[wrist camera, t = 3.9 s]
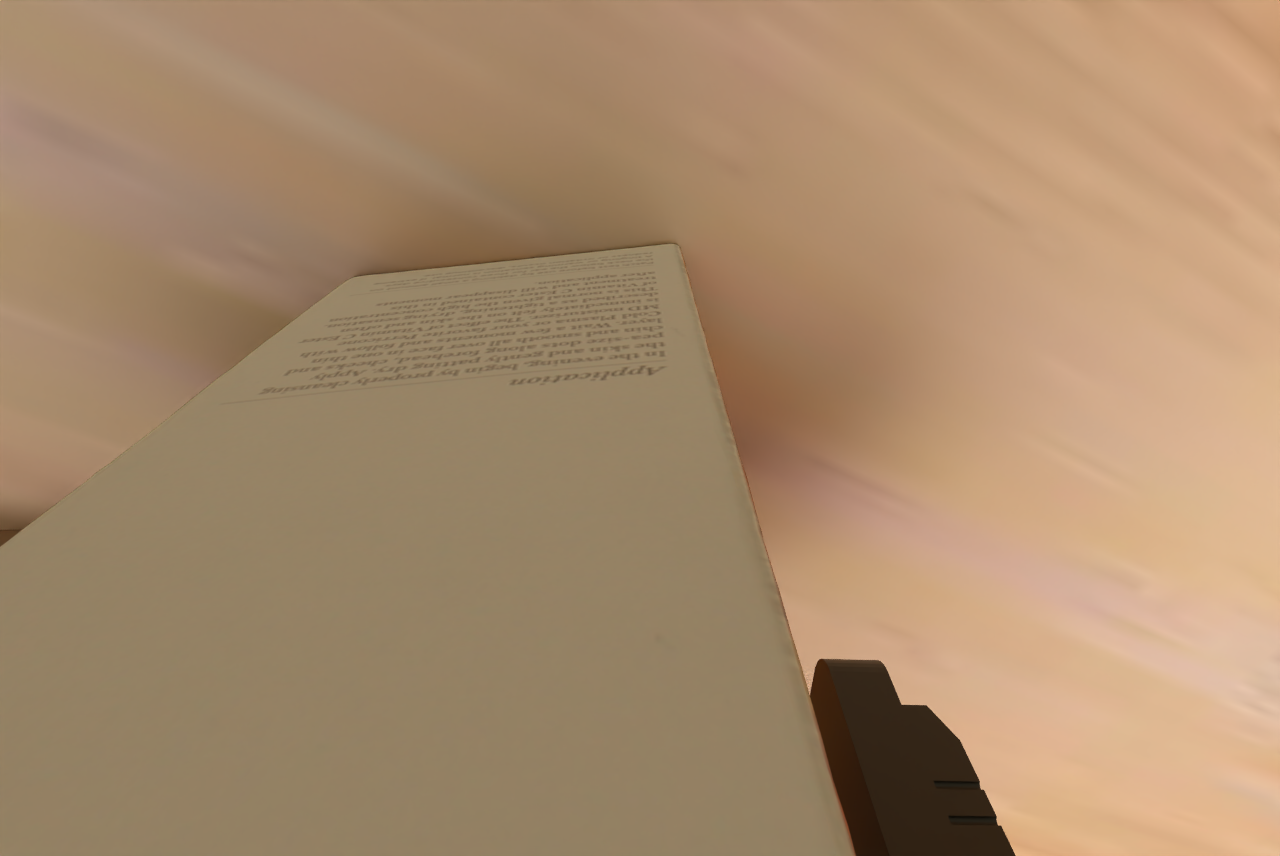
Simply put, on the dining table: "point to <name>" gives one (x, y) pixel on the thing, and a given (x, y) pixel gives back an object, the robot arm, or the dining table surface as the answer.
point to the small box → (421, 597)
